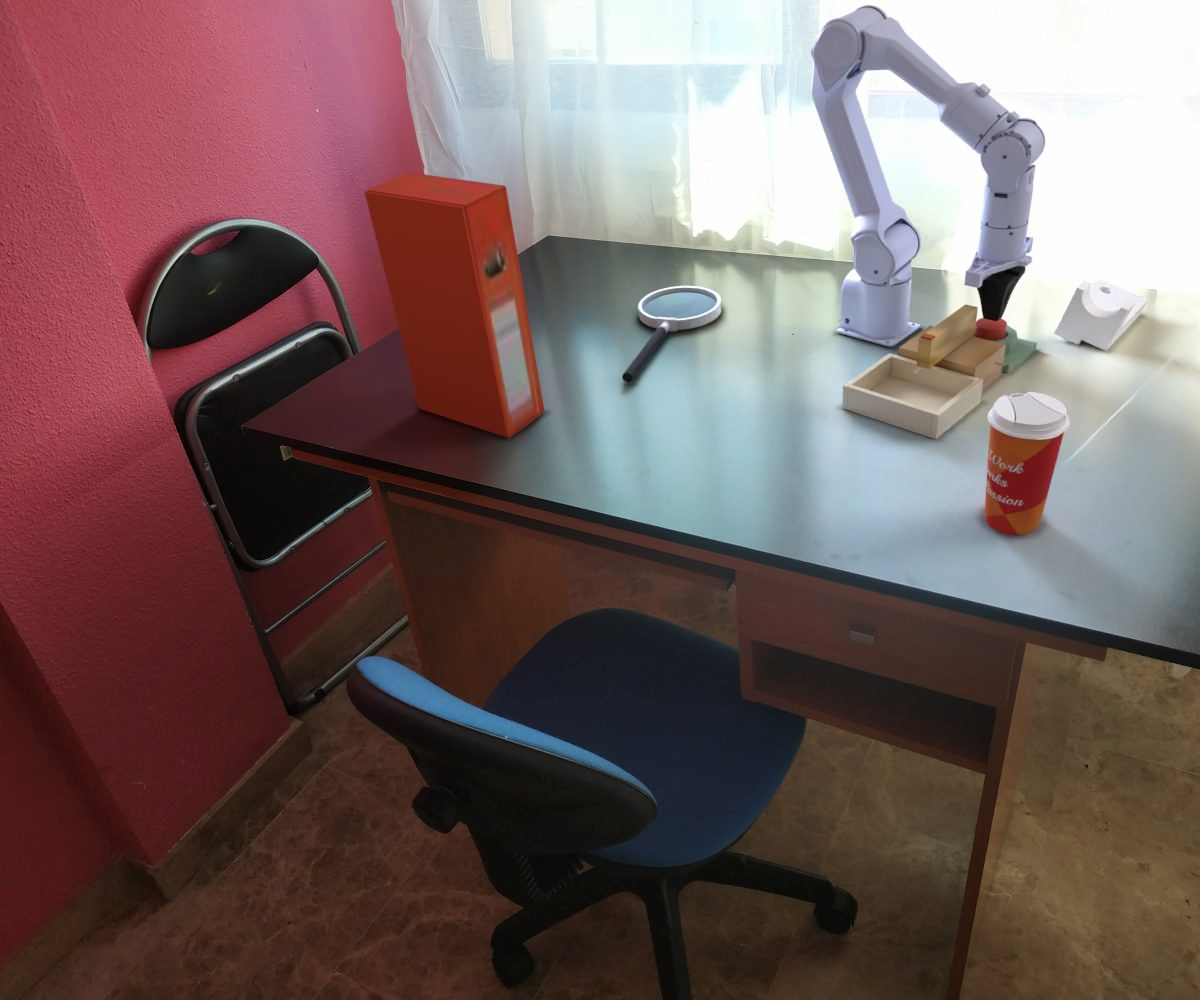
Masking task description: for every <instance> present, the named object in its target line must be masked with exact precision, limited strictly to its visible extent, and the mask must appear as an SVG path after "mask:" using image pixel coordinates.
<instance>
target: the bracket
mask: <svg viewBox="0 0 1200 1000" xmlns="http://www.w3.org/2000/svg"><path fill="white" fill-rule="evenodd" d="M1091 285H1092V283H1090V282H1088V281H1086V280H1084V281H1083V282H1081V284H1079V285H1078V286H1077V287H1076V289H1075V291H1074V293H1073V295H1072V297H1071V299H1070V301H1069V303H1068V305H1067V307H1066V309H1065V311H1064V314H1063V315H1062V317H1061V319H1060V321H1059V323H1058V325H1057V327H1056V329H1055V332H1054V333H1053V334H1054V335H1055V336H1058V337H1060V338H1062V339H1064V340H1066V341H1069V342H1071V343H1073V344H1075V345H1076V346H1077V345H1078V346H1079V345H1080V344H1081V343H1082V342H1085V343H1087V344H1090V345H1092V346H1094V347H1096V348H1098V349H1100V350H1103V351H1108V350H1109V348H1110V347H1111V346H1112V345H1113V344H1114V343H1115V342H1116V341H1117V340H1118V339H1119V337H1121V335H1122V334H1124V332H1125V331H1126V330H1127V329H1128V328H1129V327H1130V326H1131V325H1132V324H1133V323H1134V322H1135V320H1137V319H1138V317H1139V316H1140V315H1141V313H1142V311H1143V310H1144V308H1145V306H1146V305H1147V302H1148V301H1149V300H1148V298H1147V299H1146V298H1144V297H1143V296H1140V295H1137V294H1135V293H1134V292H1131V291H1128V290H1126V289H1123V288H1122V287H1119V286H1117V285H1115V284H1113V283H1110V282H1107V281H1106V280H1103V279H1102V278H1100V279H1098V280H1097V282H1095V283H1094V284H1093V285H1092V286H1091Z"/></svg>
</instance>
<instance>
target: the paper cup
mask: <svg viewBox="0 0 1200 1000" xmlns="http://www.w3.org/2000/svg"><path fill="white" fill-rule="evenodd" d="M1067 411H1068V410H1067V408H1066V406H1065V404H1064V403H1063V402H1061V400H1059V399H1057V398H1055V397H1053V396H1050V395H1048V394H1044V393H1040V392H1034V391H1026V392H1025V393H1023V392H1018V393H1017V392H1016V393H1010V395H1007V394H1005V395H1004V394H1003V395H1002V396H1000V397H998V399H996V400H995V402H994V404H993V406H992V407H991V408H990V410H989V411H988V413H987V421H988V423H989V435H988V436H989V437H988V438H989V439H988V450H987V451H988V453H987V467H986V480H985V481H986V483H985V500H984V501H985V502H984V520H985V523H986V524H987V525H988V527H990V528H991V529H993V530H995V531H997V532H998V533H1001V534H1005V535H1010V536H1023V535H1028V534H1031V533H1032V532H1035V531H1036V530H1037V529H1038V528H1039V525H1040V524H1041V520H1042V517H1043V514H1044V510H1045V506H1046V502H1047V498H1048V495H1049V491H1050V487H1051V483H1052V481H1053V476H1054V472H1055V468H1056V464H1057V461H1058V457H1059V452H1060V449H1061V445H1062V441H1063V437H1064V434H1065V432H1066V431H1067V430H1068V429H1069V427H1070V418H1069V415H1068V412H1067Z"/></svg>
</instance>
